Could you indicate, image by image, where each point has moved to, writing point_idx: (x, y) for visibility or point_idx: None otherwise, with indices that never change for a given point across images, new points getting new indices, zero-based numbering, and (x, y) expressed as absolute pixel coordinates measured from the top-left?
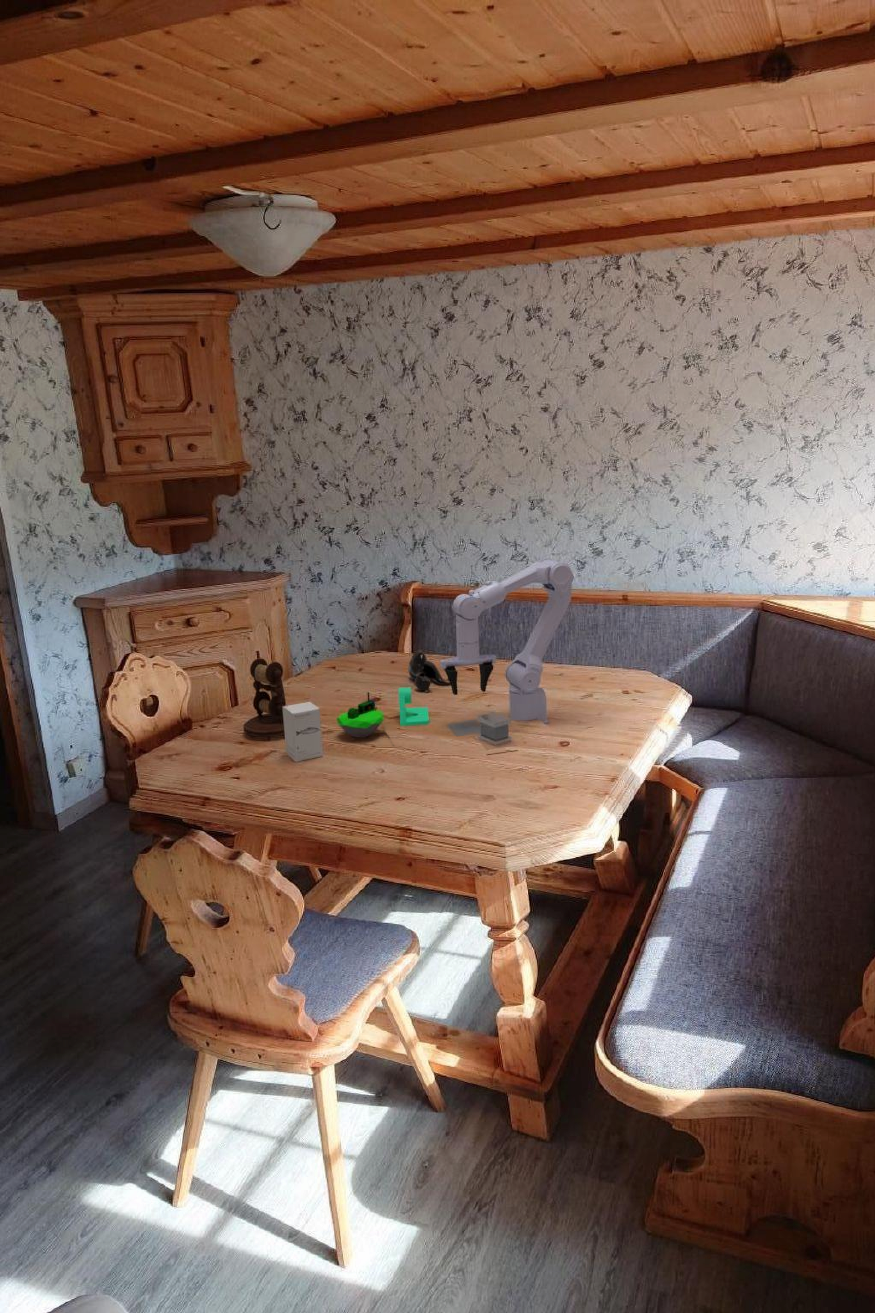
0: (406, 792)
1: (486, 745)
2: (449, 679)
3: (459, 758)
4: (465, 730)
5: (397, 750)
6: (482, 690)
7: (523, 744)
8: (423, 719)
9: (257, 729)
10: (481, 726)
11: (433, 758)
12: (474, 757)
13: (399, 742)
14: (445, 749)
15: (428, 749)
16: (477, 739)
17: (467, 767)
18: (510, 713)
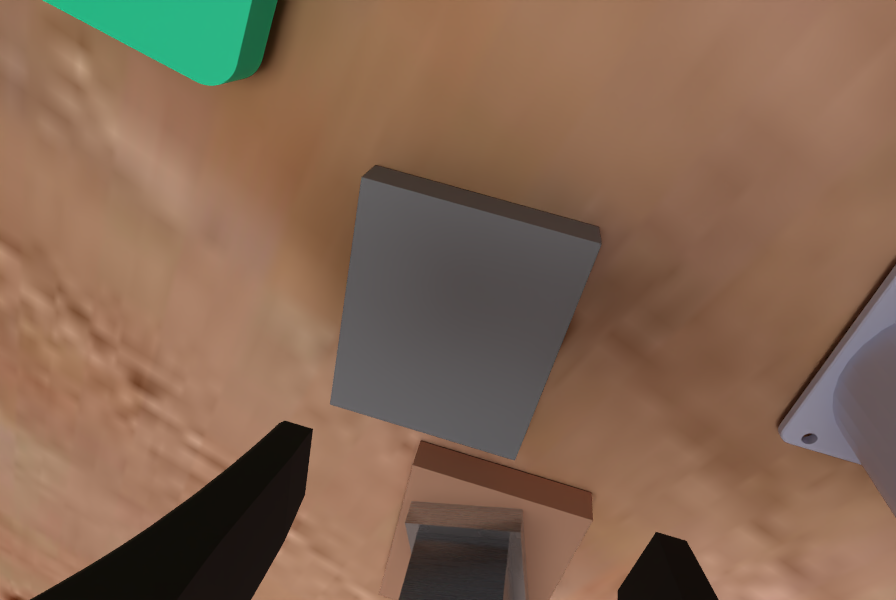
0: (38, 589)
1: (403, 569)
2: (123, 566)
3: None
4: (420, 367)
5: (22, 291)
6: (627, 586)
7: (605, 589)
8: (194, 24)
9: None
10: (406, 585)
11: (171, 464)
12: (332, 551)
13: (37, 191)
14: (251, 422)
15: (173, 374)
16: (406, 501)
17: (268, 589)
18: (881, 399)
